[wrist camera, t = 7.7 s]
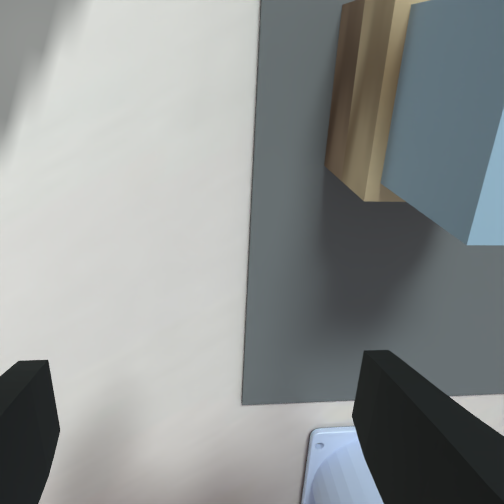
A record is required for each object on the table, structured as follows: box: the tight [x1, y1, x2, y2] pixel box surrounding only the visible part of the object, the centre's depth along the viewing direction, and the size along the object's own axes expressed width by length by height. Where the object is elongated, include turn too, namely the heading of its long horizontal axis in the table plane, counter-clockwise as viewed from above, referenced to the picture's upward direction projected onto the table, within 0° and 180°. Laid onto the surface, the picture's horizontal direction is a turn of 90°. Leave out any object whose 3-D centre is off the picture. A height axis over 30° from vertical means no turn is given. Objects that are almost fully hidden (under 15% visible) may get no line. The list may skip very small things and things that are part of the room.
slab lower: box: [324, 0, 365, 180], centre depth 17 cm, size 6×6×2 cm
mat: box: [242, 0, 504, 405], centre depth 20 cm, size 24×22×1 cm
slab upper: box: [341, 0, 429, 202], centre depth 15 cm, size 6×6×2 cm
